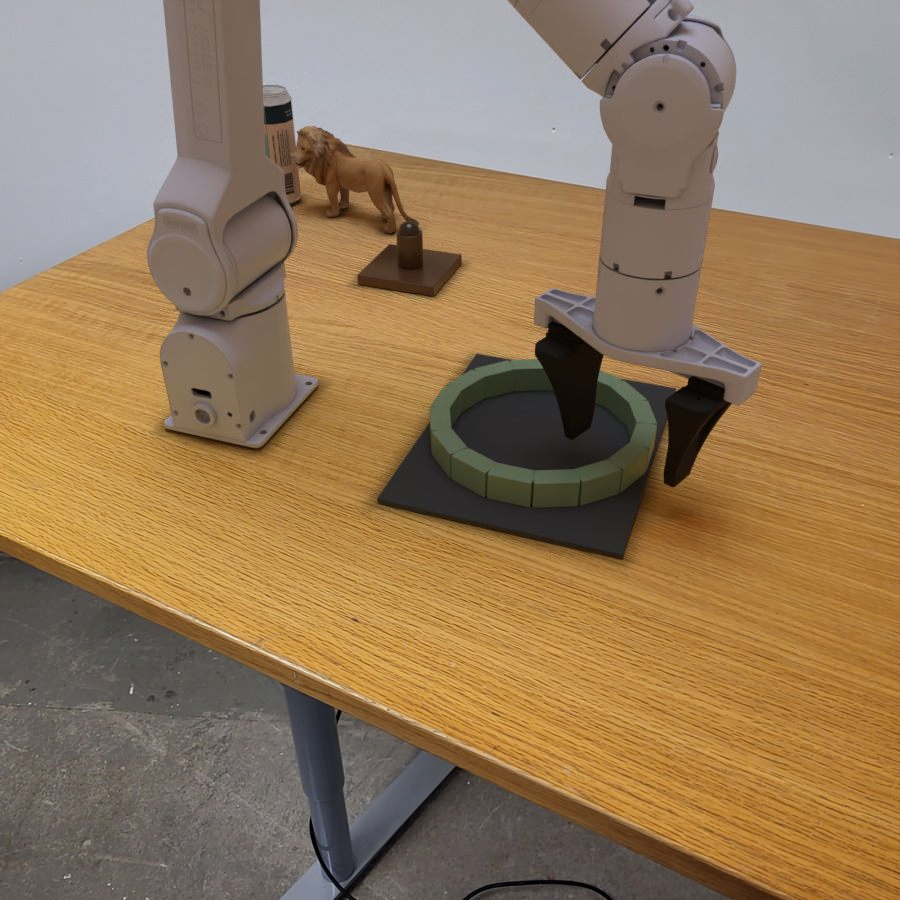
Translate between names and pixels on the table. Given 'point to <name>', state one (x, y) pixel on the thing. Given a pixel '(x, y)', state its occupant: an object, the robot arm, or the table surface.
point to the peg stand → (410, 265)
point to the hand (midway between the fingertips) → (625, 454)
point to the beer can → (281, 136)
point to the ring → (539, 484)
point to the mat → (531, 447)
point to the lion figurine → (347, 173)
